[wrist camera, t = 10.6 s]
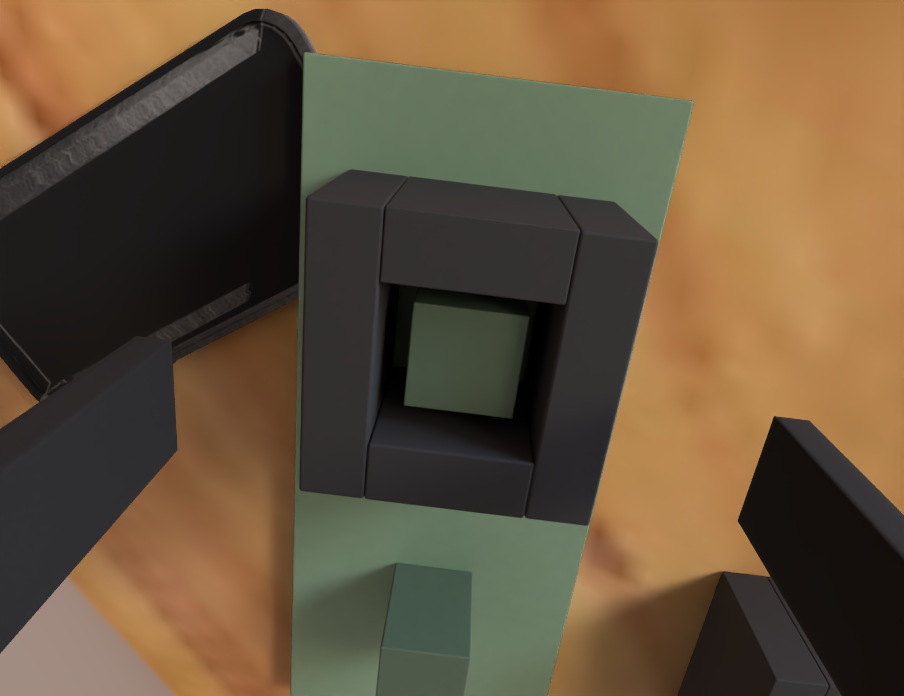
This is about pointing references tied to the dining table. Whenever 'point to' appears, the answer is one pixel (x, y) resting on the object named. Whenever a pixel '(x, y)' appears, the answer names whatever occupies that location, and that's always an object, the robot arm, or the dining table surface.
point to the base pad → (436, 535)
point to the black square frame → (477, 272)
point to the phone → (159, 209)
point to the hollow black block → (753, 646)
